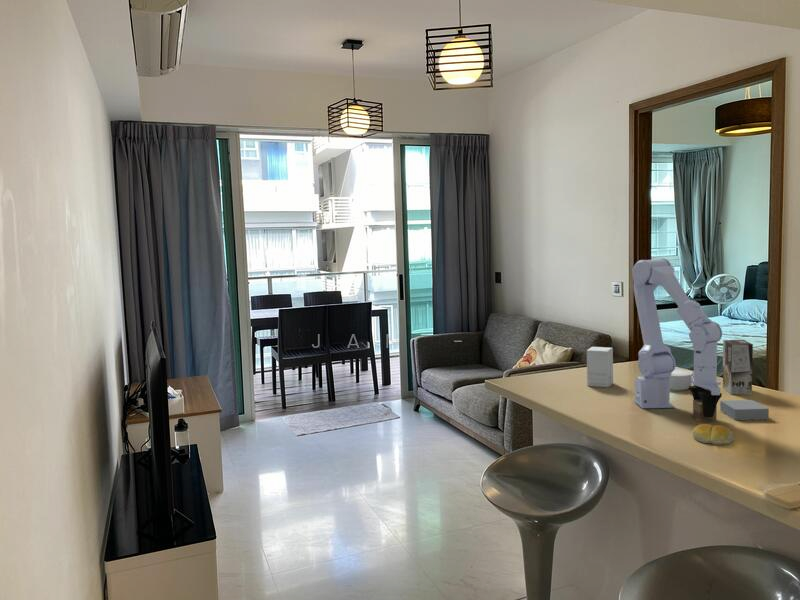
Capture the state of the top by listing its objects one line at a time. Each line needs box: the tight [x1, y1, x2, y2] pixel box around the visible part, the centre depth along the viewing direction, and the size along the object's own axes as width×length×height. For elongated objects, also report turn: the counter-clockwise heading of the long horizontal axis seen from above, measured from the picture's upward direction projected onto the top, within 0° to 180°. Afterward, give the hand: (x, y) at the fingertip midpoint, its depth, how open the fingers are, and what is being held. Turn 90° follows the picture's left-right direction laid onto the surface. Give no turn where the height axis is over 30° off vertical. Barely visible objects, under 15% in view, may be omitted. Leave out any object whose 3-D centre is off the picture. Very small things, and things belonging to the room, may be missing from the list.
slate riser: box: [719, 399, 770, 421], centre depth 179 cm, size 9×9×3 cm
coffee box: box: [722, 339, 754, 396], centre depth 203 cm, size 9×6×16 cm
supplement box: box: [585, 346, 614, 388], centre depth 219 cm, size 7×7×13 cm
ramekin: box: [670, 368, 694, 391], centre depth 212 cm, size 11×11×5 cm
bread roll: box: [692, 423, 734, 446], centre depth 160 cm, size 8×9×4 cm
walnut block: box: [692, 399, 718, 423], centre depth 176 cm, size 4×4×5 cm
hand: (704, 414), depth 176 cm, fingers closed on walnut block, 4 cm apart
